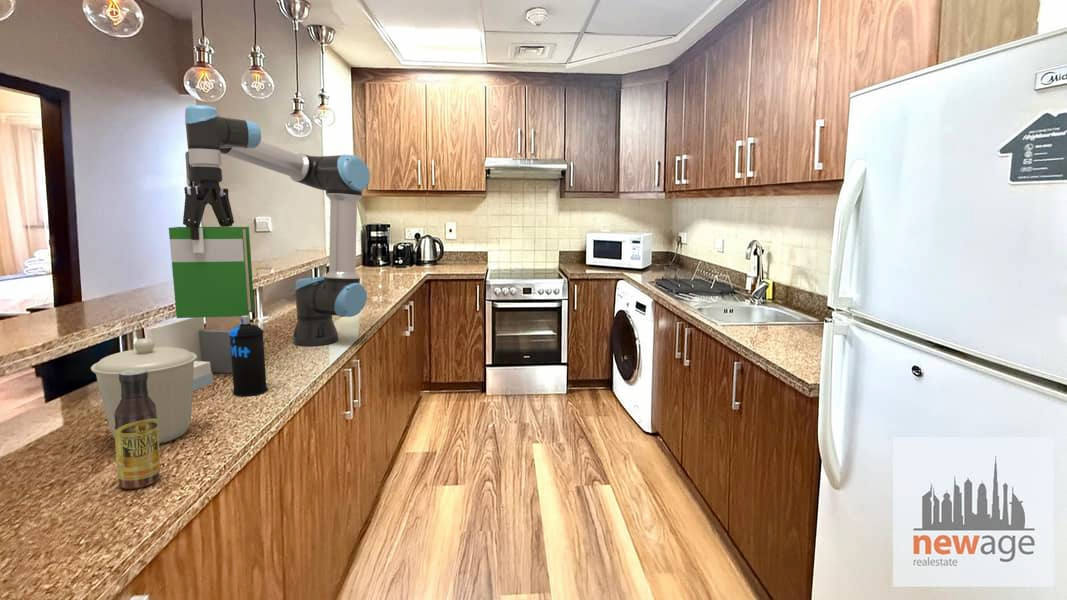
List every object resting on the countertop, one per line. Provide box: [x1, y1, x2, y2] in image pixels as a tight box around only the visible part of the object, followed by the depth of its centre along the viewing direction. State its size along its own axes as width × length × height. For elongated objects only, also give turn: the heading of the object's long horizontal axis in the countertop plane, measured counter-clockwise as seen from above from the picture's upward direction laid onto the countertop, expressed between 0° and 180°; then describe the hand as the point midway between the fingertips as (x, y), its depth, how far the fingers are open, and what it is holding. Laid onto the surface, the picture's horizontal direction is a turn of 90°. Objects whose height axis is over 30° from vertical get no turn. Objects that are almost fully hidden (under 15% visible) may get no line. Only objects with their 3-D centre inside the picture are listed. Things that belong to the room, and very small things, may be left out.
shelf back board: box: [146, 317, 205, 361], centre depth 164 cm, size 19×1×16 cm, turn 170°
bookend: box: [199, 329, 233, 374], centre depth 172 cm, size 2×11×12 cm, turn 80°
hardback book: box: [168, 226, 256, 319], centre depth 161 cm, size 18×7×24 cm, turn 102°
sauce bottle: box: [114, 369, 161, 490], centre depth 102 cm, size 7×6×20 cm
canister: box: [90, 337, 197, 445], centre depth 121 cm, size 18×18×21 cm
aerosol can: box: [228, 315, 269, 398], centre depth 152 cm, size 8×8×20 cm
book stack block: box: [193, 361, 214, 392], centre depth 158 cm, size 8×11×6 cm
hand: (212, 251), depth 161 cm, fingers closed on hardback book, 9 cm apart
